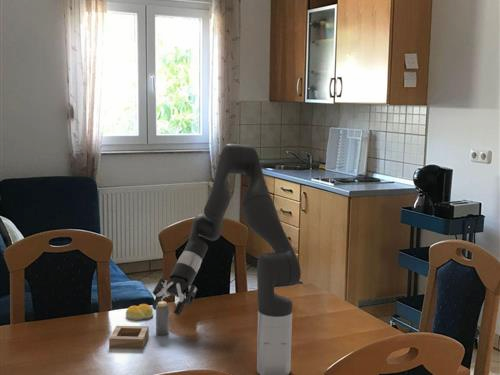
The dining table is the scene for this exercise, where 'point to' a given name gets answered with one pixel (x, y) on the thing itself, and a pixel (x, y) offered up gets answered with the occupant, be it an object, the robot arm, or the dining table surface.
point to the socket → (129, 337)
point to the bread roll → (139, 312)
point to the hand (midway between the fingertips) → (165, 311)
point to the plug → (162, 319)
